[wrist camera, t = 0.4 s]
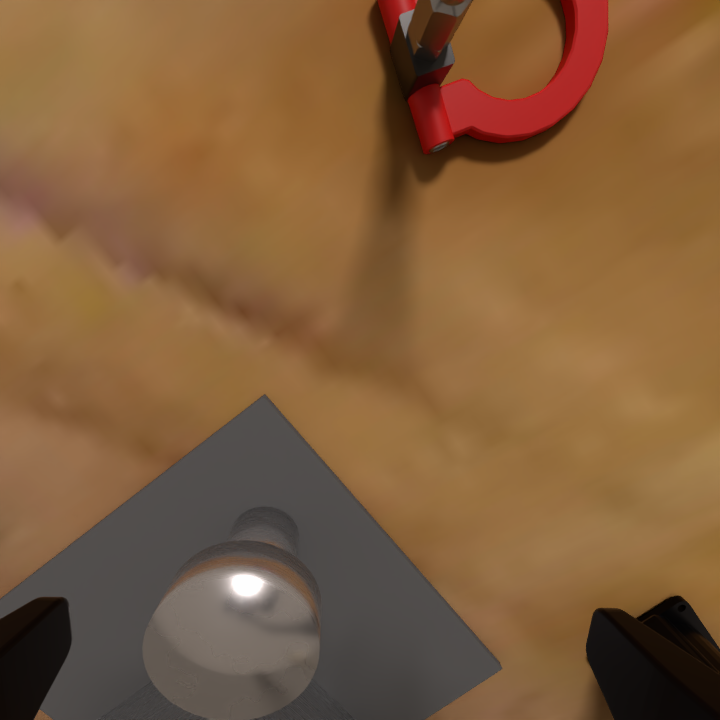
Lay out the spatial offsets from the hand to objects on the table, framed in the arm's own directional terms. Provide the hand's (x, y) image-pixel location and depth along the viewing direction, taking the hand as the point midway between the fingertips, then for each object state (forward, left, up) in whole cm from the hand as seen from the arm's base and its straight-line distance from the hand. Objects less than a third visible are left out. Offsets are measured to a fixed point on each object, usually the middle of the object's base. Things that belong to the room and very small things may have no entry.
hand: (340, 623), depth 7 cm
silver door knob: (-4, +8, -13) cm, 16 cm away
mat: (-9, +14, -13) cm, 21 cm away
